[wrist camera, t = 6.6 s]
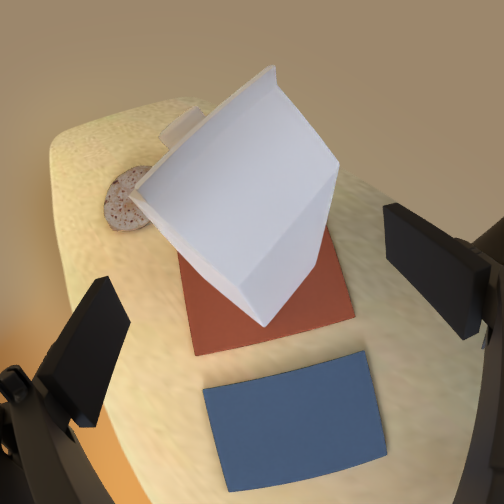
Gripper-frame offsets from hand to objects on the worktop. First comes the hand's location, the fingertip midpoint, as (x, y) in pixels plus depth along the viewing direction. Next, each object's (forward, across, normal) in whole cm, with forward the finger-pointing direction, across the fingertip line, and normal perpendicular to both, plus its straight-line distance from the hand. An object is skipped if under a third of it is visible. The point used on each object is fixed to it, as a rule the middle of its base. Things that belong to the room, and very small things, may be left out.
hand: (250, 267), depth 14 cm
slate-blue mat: (+2, 0, -17) cm, 17 cm away
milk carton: (+12, 0, -7) cm, 14 cm away
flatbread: (+20, -11, +1) cm, 23 cm away
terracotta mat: (+12, 0, -7) cm, 14 cm away
